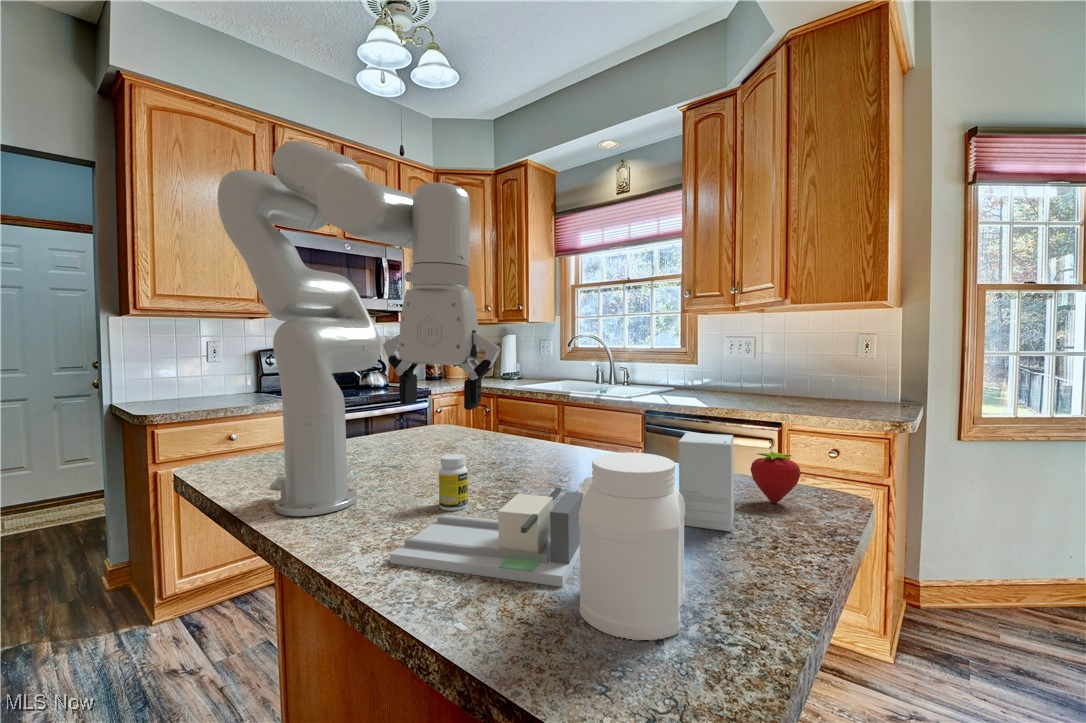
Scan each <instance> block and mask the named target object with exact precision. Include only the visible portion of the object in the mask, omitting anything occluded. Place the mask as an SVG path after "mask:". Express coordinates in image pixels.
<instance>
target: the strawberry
mask: <svg viewBox="0 0 1086 723" xmlns="http://www.w3.org/2000/svg"><path fill="white" fill-rule="evenodd" d="M774 445H775V443H773V445H772V446H771V448H770V453H765V452H764V453H763V452H762V453H761V452H759V453H756V455H759V456H763V457H760V458H756V459H755V460H753V461H752V463H751V465H750V466H751V467H750V473H751V477H752V480H753V481H754V483H755V484H756V486H757V487H758V488H759V489H760V490H759V491H761V492H762V493H763V494H764V496H765V497H766V498H767V499H768V500H769V501H770V502H771V503H773V504H777V503H779V502H781V501H782V499H784V497H786V496H787V495H788V494H790V492H791V491H792V490H793V489H794V488H795V487H796V486H797V485H798V483H799V480H800V477H801V474H802V473H801V469H800V466H799V465H798V464H797V463H796V462H795V461H793V460H791V458H790V457H792V456H793V455H791V454H783V453H781V452H780V453H779V452H773V448H774Z"/></svg>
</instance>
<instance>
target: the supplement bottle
mask: <svg viewBox="0 0 1086 723" xmlns="http://www.w3.org/2000/svg"><path fill="white" fill-rule="evenodd" d="M465 465H466V455H465V454H462V453H460V454H459V453H451V454H450V453H449V454H445V455H442V456H441V457H440V469H439V470H438V501H439V508H440V509H441V510H443V511H448V512H455V511H460V510H461V511H462V510H464V509H466V508H467V507H468V505H469V482H468V481H469V480H468V478H469V475H468V474H469V471H468V468H467V467H466V466H465Z"/></svg>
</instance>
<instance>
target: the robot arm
mask: <svg viewBox="0 0 1086 723" xmlns="http://www.w3.org/2000/svg"><path fill="white" fill-rule="evenodd" d="M272 168H273V172H274V174H275V175H274V174H271V173H268V172H267V173H266V172H262V171H259V170H253V169H252V170H251V169H236V170H232V171H229V172H228V173H226V174H225V175H223V177H222V178H221V180H220V182H219V184H218V188H217V207H218V213H219V217H220V221H221V223H222V226H223V229H224V231H225V232H226V234H227V236H228V238H229V239H230V241H231V243H233V245H234V247H235V248H236V249H237V251H238V253H240V255H241V257H242V259H243V260H244V261H245V264H246V267H247V269H248V271H249V274H250V276H251V278H252V280H253V283H254V286H255V288H256V289H257V292H258V294H259V296H260V299H261V301H262V303H263V305H264V307H265V309H266V310H267V312H268V313H269V314H270V316H271V317H272V318H274V319H276V320H278V321H281V322H283V323H281V324H280V325H279V326H278V327H277V329H276V330H275V333H274V336H273V340H272V347H273V353H274V358H275V362H276V366H277V372H278V375H279V376H278V377H279V380H280V381H279V382H280V389H281V403H282V406H281V407H282V423H283V424H282V425H283V448H284V449H283V450H284V452H283V453H284V476H282V475H279V476H277V477H276V479H275V481H274V482H271V483H270V486H269V489H270V490H271V491H275V492H279V491H280V498H279V499H278V500H276V502H275V504H274V506H275V507H274V510H275V512H276V513H278V514H279V515H282V516H287V517H310V516H311V517H312V516H318V515H326V514H330V513H334V512H337V511H340V510H343V509H345V508H348V507H350V506H352V505H353V504H355V503H356V502H357V501H358V492H357V490H355V489H353V488H350V487H348V464H347V463H348V462H347V460H348V459H347V458H348V457H347V430H346V428H347V427H346V426H347V425H346V401H345V396H344V393H343V391H342V389H341V388H340V386H339V384H338V383H337V382H336V380H335V378H334V377H333V374H338V373H340V374H341V373H352V372H360V371H366V370H368V369H371V368H372V367H374V366H375V364H376V363H377V362H378V361H379V359H380V355H381V348H382V346H383V350H384V351H385V354H386V356H387V357H388V360H387V361H388V363H389V364H390V366H392V367H393V369H394V371H395V374H396V376H399V377H398V378H399V381H398V382H399V386H398V387H399V391H398V392H399V397H400V399H399V400H400V401H399V402H400V405H402V406H403V405H404V406H406V405H410V404H414V403H416V402H417V401H418V375H417V374H416V373H414V372H415V371H416V369H417V368H418V367H419V366H420V364H422V365H437V366H438V365H439V366H440V365H441V366H442V365H443V366H457V365H459V366H460V367H461V369H462V370H463V371H464V373H465V374H466V376H467V379H465V380H464V384H463V385H464V387H463V388H464V390H463V391H464V392H463V408H464V409H465V410H467V411H468V410H469V411H471V410H474V409H476V408H479V405H480V403H481V401H482V379H483V378H484V377H485V376H486V374H487V373H488V372H490V370H491V369H493V367H494V366H495V362H496V361H497V359H498V357H499V354H500V353H501V347H500V346H499V345H497V344H496V343H494V342H492V341H491V340H489V339H487V338H485V337H484V336H482V335H481V334H480V333H479V323H478V314H477V306H476V302H475V301H476V300H475V295H474V292H473V291H472V290H469V289H470V234H471V233H470V230H471V229H470V227H471V226H470V225H471V224H470V223H471V222H470V221H471V219H470V218H471V217H470V216H471V203H470V202H471V200H470V196H469V194H468V192H467V190H465V189H464V188H462V187H460V186H457V185H455V184H451V183H446V182H427V183H424V184H420V185H419V186H417V187H416V188H415V189H414V192H413V194H412V193H408V192H406V191H403V190H400V189H398V188H397V189H396V188H394V187H391V186H388V185H384V184H381V183H379V182H375V181H372V180H369V179H367V178H366V175H365V173H364V172H363V169H362V167H361V166H360V164H358V163H357V161H355V160H354V159H352V158H351V157H348V156H346V155H344V154H341V153H338V152H336V151H333V150H329V149H328V148H324V147H322V146H319V145H316V144H314V143H311V142H308V141H303V140H291V141H286V142H284V143H283V144H281V145H279V146H278V147H277V149H275V151H274V152H273V156H272ZM329 224H330V225H332V226H334V227H336V228H338V229H340V230H341V231H342V232H344V233H347V234H349V235H350V236H353V237H356V238H359V239H362V240H366V241H370V242H371V241H372V242H377V243H380V244H386V245H391V246H395V247H400V248H403V249H404V248H405V249H408V250H409V249H411V251H412V254H411V255H412V256H411V257H412V261H411V264H412V265H411V271H407V272H405V273H404V274H405V275H404V279H405V280H404V281H406V282H407V283H410V284H411V288H409V289H406V291H405V294H404V297H403V298H404V299H403V303H402V308H401V314H400V315H401V316H400V320H399V322H400V323H399V334H397V335H396V336H394V337H392V338H390V339H389V340H387V341H385V342H384V343H383V345H382V346H381V340H380V336H379V333H378V330H377V328H376V326H375V324H374V321H373V319H372V317H371V315H370V314H369V311H368V309H367V308H366V305H365V303H364V302H363V299H362V298H361V295H360V293H359V292H358V290H357V288H356V286H355V285H354V284H353V282H351V281H350V279H349V278H347V277H345V276H343V275H341V274H338V273H335V272H329V271H323V270H315V269H312V268H310V267H307V266H306V265H305V263H304V262H303V260H302V259H301V256H300V254H299V251H298V249H297V248H296V247H295V245H294V244H293V242H291V240H290V239H289V238H288V237H287V236H286V235H285V234H284V233H283V232H281V231H280V230H279V229H277V228H276V227H275V226H281V227H285V228H290V229H295V230H296V229H297V230H300V231H307V232H308V231H309V232H313V231H314V232H315V231H317V230H321V229H323V228H324V227H325V226H327V225H329ZM274 225H275V226H274ZM479 349H481V350H483V351H484V353H485V355H484V357H483V359H482V361H480V363H479V362H478V360H477V359H478V358H479Z"/></svg>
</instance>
